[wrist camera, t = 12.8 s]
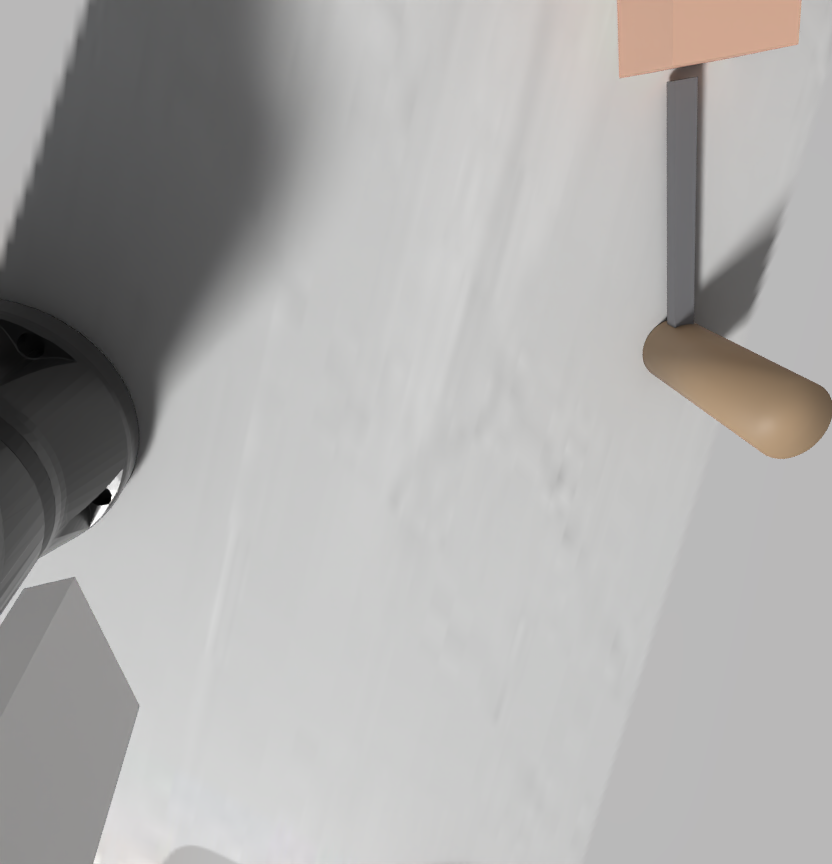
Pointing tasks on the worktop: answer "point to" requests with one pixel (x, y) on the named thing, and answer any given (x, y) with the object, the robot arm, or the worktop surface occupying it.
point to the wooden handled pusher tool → (679, 336)
